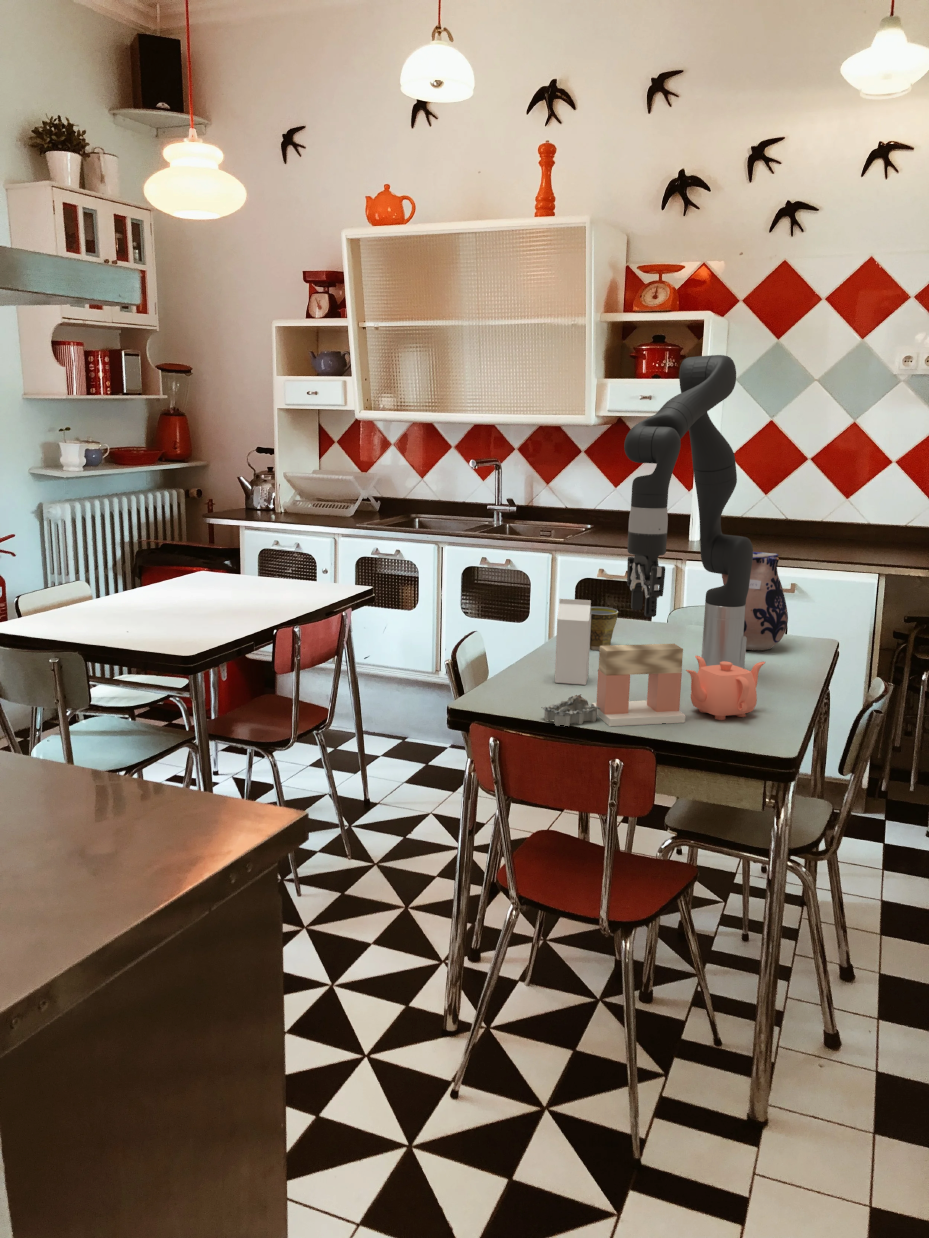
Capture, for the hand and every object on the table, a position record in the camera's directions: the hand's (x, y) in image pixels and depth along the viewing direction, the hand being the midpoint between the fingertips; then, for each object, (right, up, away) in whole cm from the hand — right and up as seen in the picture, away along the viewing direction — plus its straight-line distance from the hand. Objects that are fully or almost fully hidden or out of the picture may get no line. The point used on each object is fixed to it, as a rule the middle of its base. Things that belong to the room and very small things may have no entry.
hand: (643, 612), depth 196 cm
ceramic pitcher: (+40, -9, +67) cm, 78 cm away
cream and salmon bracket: (0, -21, +5) cm, 22 cm away
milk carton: (-11, -16, +30) cm, 36 cm away
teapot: (+17, -21, +9) cm, 28 cm away
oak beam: (0, -12, +3) cm, 12 cm away
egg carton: (-14, -22, +2) cm, 26 cm away
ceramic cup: (-2, -9, +63) cm, 64 cm away
